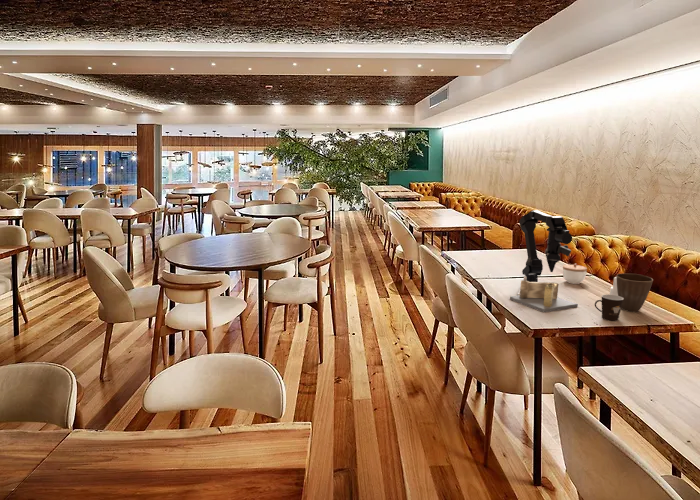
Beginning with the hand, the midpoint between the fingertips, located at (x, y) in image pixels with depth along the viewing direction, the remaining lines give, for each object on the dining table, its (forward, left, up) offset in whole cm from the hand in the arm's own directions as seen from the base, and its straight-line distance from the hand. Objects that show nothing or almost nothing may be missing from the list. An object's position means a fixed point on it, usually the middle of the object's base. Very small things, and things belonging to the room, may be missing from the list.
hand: (551, 270), depth 248 cm
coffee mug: (+39, -6, -13) cm, 41 cm away
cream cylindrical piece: (+22, +26, -13) cm, 36 cm away
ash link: (+7, -15, -11) cm, 20 cm away
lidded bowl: (-12, +33, -13) cm, 37 cm away
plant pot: (+35, +16, -13) cm, 40 cm away
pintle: (+4, -21, -3) cm, 22 cm away
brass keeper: (+17, -18, -13) cm, 28 cm away
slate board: (+11, -15, -13) cm, 23 cm away
